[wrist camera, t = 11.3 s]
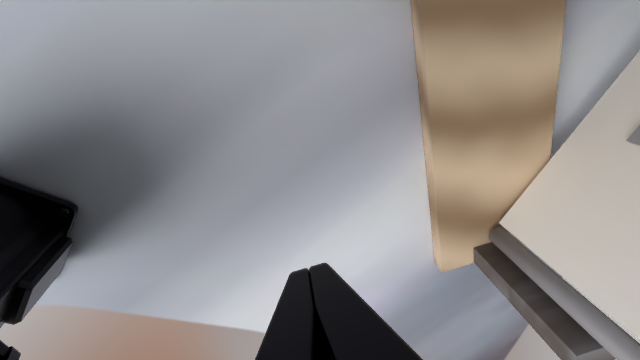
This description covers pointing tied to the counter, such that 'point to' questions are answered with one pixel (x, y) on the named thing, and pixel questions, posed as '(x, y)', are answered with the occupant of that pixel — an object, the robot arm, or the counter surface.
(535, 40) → the door base
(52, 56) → the counter surface
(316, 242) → the counter surface
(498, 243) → the door
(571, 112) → the counter surface
